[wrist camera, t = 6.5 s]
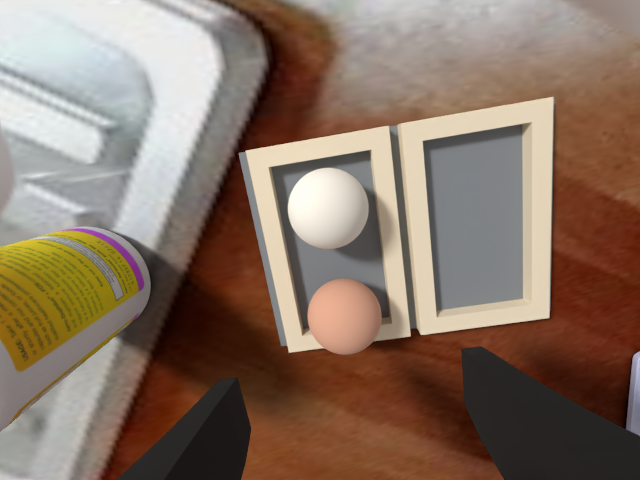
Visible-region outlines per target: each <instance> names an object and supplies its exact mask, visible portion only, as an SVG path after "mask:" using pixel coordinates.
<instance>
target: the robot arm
mask: <svg viewBox="0 0 640 480" xmlns="http://www.w3.org/2000/svg"><path fill="white" fill-rule="evenodd" d="M461 351H462V368H463V384H464V401H465V406H466V408H467V410H468V412H469V415H470V417H471V419H472V422H473V424H474V426H475V428H476V430H477V432H478V434H479V437H480V439H481V440H482V442H483V444H484V446H485V447H486V449H487V451H488V453H489V454H490V456H491V458H492V459H493V461H494V463H495V465H496V466H497V468H498V470H499V471H500V473H501V475H502V476H503V478H504V480H640V352H637V353H636V354H635V355H634V356H633V359H632V370H631V380H630V391H629V402H628V412H627V423H626V429H624V428H622V427H620V426H618V425H616V424H614V423H612V422H610V421H608V420H606V419H604V418H602V417H600V416H599V415H597V414H595V413H593V412H591V411H589V410H587V409H586V408H584V407H582V406H580V405H578V404H576V403H575V402H573V401H571V400H569V399H567V398H566V397H564V396H562V395H560V394H559V393H557V392H555V391H553V390H552V389H550V388H548V387H547V386H545V385H543V384H542V383H540V382H538V381H537V380H535V379H533V378H532V377H530V376H528V375H527V374H525V373H523V372H522V371H520V370H519V369H517V368H515V367H514V366H512V365H511V364H509V363H507V362H506V361H504V360H503V359H501V358H500V357H498V356H496V355H495V354H493V353H492V352H490V351H488V350H487V349H485V348H483V347H473V348H466V349H461ZM250 433H251V426H250V423H249V419H248V415H247V411H246V408H245V404H244V400H243V396H242V393H241V389H240V385H239V381H238V378H231V379H224V380H219V381H218V382H217V383H216V384H215V385H214V386H213V387H212V388H211V389H210V390H209V391H208V392H207V393H206V394H205V395H204V396H203V397H202V398H201V399H200V400H199V401H198V402H197V403H196V404H195V405H194V406H193V407H192V408H191V409H190V410H189V411H188V412H187V413H186V414H185V415H184V416H183V417H182V418H181V419H180V420H179V421H178V422H177V423H176V424H175V425H174V426H173V427H172V428H171V429H170V430H169V431H168V432H167V433H166V434H165V435H164V436H163V437H162V438H161V439H160V440H159V441H158V442H157V443H156V444H155V445H154V446H152V447H151V448H150V449H149V450H148V451H147V452H146V453H145V454H144V455H143V456H142V457H141V458H140V459H139V460H138V461H137V462H136V463H134V464H133V465H132V466H131V467H130V468H129V469H128V470H127V471H125V472H124V473H123V474H122V475H121V476H120V477H118V478H117V479H116V480H241V477H242V474H243V470H244V466H245V462H246V457H247V451H248V445H249V439H250Z"/></svg>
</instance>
